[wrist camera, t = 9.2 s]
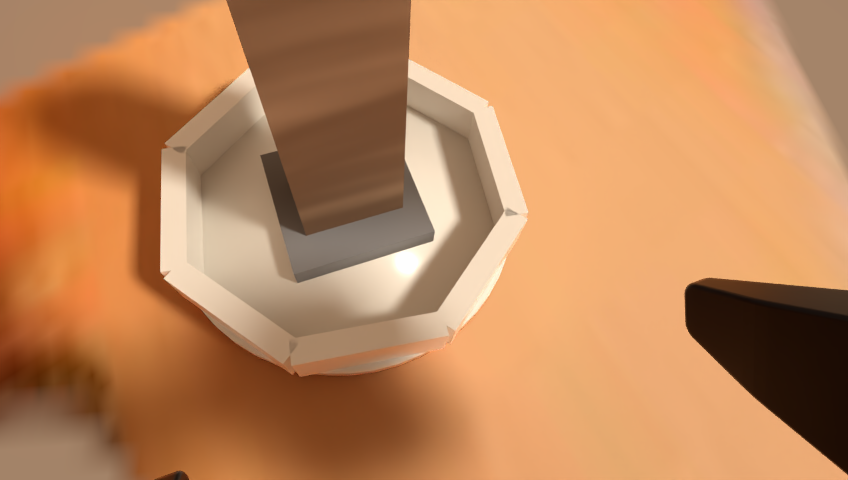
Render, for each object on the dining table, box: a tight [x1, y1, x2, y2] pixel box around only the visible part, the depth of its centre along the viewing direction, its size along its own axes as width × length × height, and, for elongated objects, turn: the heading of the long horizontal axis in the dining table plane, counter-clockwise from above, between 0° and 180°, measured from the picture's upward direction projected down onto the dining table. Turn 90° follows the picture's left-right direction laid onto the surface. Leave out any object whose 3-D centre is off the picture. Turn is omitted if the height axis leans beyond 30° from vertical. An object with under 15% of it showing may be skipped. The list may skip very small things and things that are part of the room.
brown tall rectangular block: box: [227, 0, 435, 283], centre depth 13 cm, size 5×5×12 cm
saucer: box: [160, 59, 528, 377], centre depth 19 cm, size 12×12×2 cm
